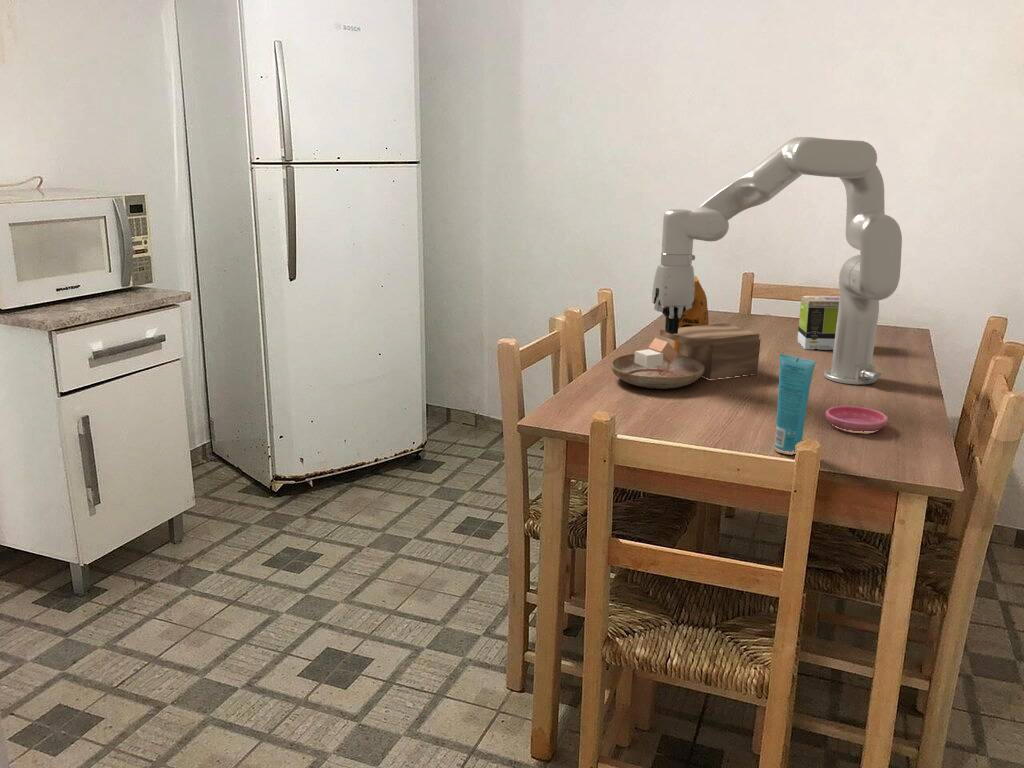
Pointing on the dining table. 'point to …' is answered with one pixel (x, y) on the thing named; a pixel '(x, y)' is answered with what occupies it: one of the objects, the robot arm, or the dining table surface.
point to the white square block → (648, 358)
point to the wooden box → (719, 349)
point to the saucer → (856, 418)
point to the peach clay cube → (664, 349)
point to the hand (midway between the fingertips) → (671, 332)
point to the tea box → (818, 322)
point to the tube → (792, 400)
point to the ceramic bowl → (658, 372)
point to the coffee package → (694, 311)
